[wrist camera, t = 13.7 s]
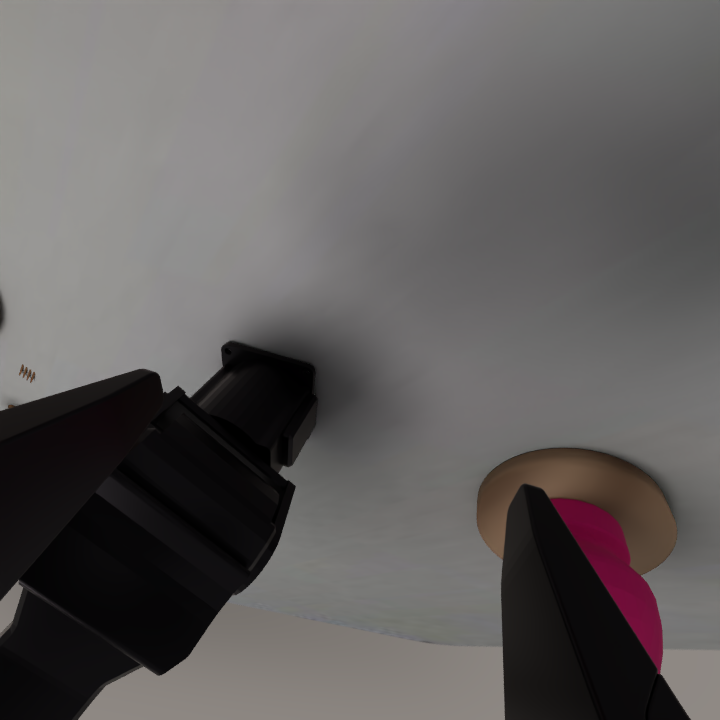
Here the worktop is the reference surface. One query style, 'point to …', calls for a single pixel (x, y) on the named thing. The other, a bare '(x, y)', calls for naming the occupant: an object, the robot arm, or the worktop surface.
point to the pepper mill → (615, 569)
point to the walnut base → (583, 498)
